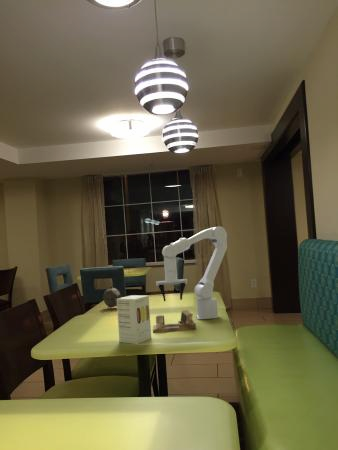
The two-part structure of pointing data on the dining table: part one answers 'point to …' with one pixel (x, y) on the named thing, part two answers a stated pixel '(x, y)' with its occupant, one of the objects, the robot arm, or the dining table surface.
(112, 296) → the alarm clock
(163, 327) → the rail base
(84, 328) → the dining table surface
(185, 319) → the block
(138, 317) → the supplement box
